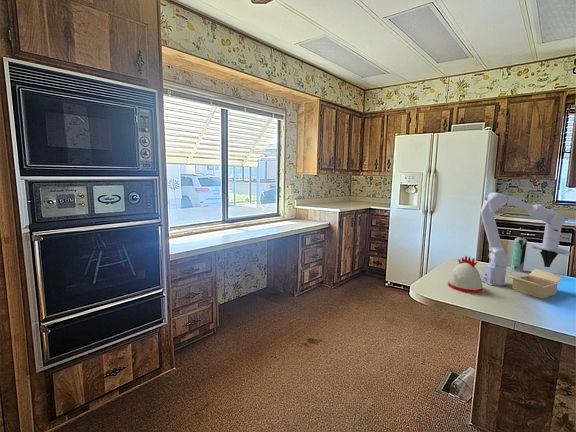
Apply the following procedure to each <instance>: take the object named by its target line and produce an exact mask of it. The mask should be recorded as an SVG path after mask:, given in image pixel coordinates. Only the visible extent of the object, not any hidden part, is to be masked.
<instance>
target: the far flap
mask: <svg viewBox="0 0 576 432" xmlns="http://www.w3.org/2000/svg"><path fill="white" fill-rule="evenodd" d="M528 276H532V277H536V278H539V279H543V280H547V281H550V282H554V283H557V284H558V283H559V282H560V281H561V280H562V279H563V278H564V275H560V274H556V273H553V272H549V271H546V270H541V269H537V268H534V269H533V270H532V271H531V272H530V273H529V274H528Z"/></svg>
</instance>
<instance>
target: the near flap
mask: <svg viewBox="0 0 576 432" xmlns="http://www.w3.org/2000/svg"><path fill="white" fill-rule="evenodd" d="M507 276H508V277H509V278H510V279H512V280H513V279H515V280H519V281H522V282H526V283H529V284H532V285H536V286H539V287H542V286H541V285H539V284H537V283H534V282H530V281H527V280H523V279H520V278H518V277H516V276H513V275H507Z"/></svg>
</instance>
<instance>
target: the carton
mask: <svg viewBox="0 0 576 432" xmlns="http://www.w3.org/2000/svg"><path fill="white" fill-rule="evenodd" d="M517 278H520V279H523V280H527V281H530V282H534V283H537V284H539V285H541V286H542V287H539V286H536V285H532V284H529V283H526V282H522V281H519V280H515V279H513V278H512V286H511V290H514V291H517V292H520V293H523V294H526V295H529V296H533V297H536V298H539V299H541V300H542V299H545V298H546V299H547V298H549V297H551V296H555V295H557V291H558V285H559V284H558V283H554V282H551V281H547V280H543V279H540V278H536V277H532V276H529V274H527V275H523V276H519V277H517Z"/></svg>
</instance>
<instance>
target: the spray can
mask: <svg viewBox="0 0 576 432" xmlns="http://www.w3.org/2000/svg"><path fill="white" fill-rule="evenodd" d="M513 243H514V244H513V248H512V249H513V250H512V257H511V258H512V259H511V265H510V270H511V271H514V272H519V273H522V272H524V267H525V265H524V264H525V258H526V252H527V244H528V239H526V238H525V237H524V234H520V235H519V236H517V237H515V238H514V242H513Z"/></svg>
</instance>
